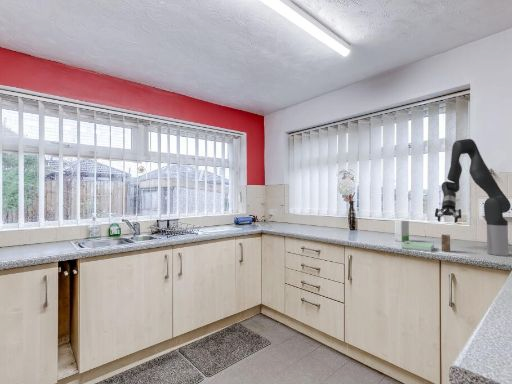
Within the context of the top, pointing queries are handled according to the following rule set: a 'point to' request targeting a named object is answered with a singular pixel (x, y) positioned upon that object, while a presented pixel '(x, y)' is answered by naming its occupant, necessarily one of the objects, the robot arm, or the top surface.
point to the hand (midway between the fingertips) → (447, 221)
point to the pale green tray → (418, 246)
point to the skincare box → (401, 230)
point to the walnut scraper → (446, 243)
